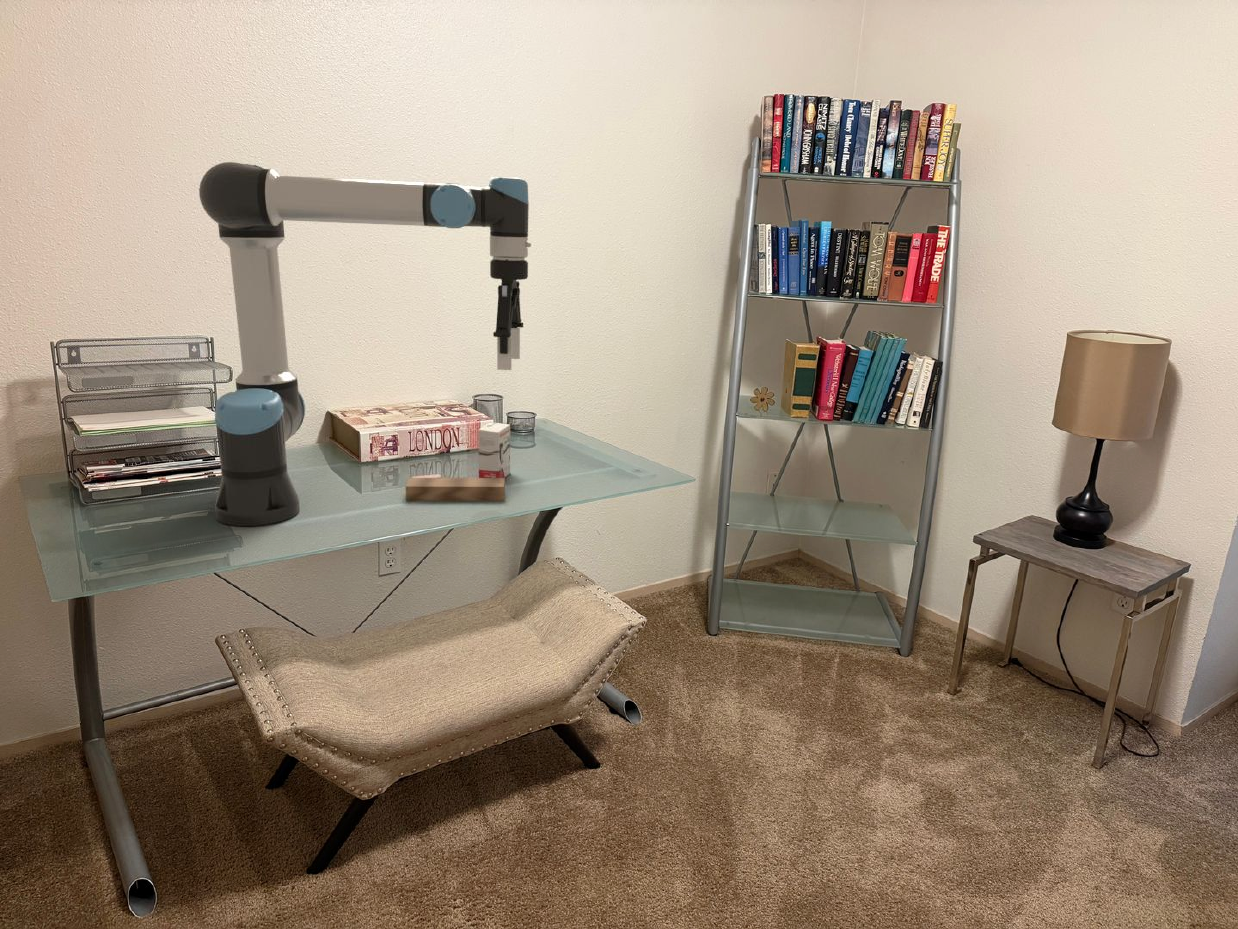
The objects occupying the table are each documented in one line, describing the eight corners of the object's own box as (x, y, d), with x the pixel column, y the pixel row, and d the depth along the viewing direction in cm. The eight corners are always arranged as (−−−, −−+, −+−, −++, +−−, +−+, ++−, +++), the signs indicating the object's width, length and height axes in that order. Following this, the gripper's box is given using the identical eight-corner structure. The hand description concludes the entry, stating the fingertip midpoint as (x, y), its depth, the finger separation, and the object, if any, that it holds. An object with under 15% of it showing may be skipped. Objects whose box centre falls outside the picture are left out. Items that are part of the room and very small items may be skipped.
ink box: (498, 483, 191) (498, 432, 188) (477, 481, 192) (477, 430, 189) (511, 472, 199) (511, 423, 196) (491, 471, 200) (490, 421, 197)
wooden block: (405, 500, 178) (405, 486, 177) (409, 491, 184) (409, 477, 183) (503, 500, 180) (503, 486, 179) (504, 491, 186) (504, 478, 185)
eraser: (414, 488, 187) (414, 480, 186) (411, 485, 189) (411, 476, 188) (442, 485, 189) (441, 477, 189) (438, 482, 192) (438, 474, 191)
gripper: (520, 262, 161) (519, 375, 167) (534, 256, 185) (533, 355, 191) (480, 261, 161) (480, 373, 167) (499, 254, 185) (499, 353, 191)
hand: (508, 364), depth 179 cm, fingers open, 13 cm apart
